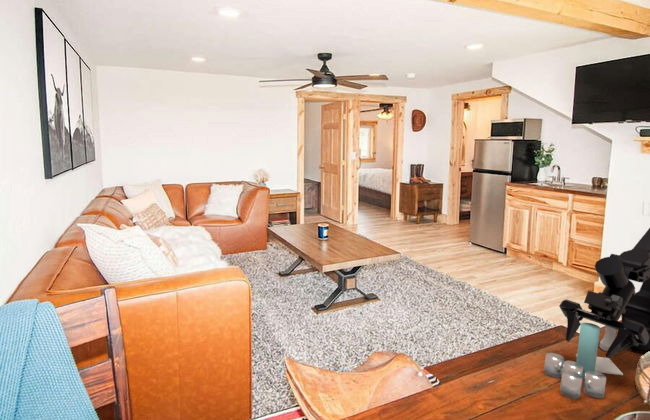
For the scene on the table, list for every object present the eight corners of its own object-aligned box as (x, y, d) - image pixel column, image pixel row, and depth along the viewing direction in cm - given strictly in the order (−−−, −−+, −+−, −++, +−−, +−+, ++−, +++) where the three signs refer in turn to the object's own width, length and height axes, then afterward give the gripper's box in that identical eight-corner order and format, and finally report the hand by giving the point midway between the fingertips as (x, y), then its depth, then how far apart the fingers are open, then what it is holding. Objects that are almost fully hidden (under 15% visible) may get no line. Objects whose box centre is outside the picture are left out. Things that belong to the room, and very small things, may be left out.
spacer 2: (577, 378, 99) (579, 361, 99) (583, 388, 96) (585, 370, 95) (559, 376, 100) (561, 359, 100) (564, 385, 96) (566, 368, 96)
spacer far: (576, 389, 95) (578, 372, 94) (583, 400, 91) (585, 381, 90) (557, 387, 96) (559, 369, 95) (563, 397, 92) (565, 378, 91)
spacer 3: (599, 389, 95) (601, 371, 94) (607, 399, 91) (609, 381, 91) (580, 386, 96) (582, 369, 95) (587, 396, 92) (589, 378, 92)
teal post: (590, 372, 102) (596, 323, 100) (596, 380, 99) (603, 330, 97) (572, 370, 103) (578, 321, 101) (578, 378, 100) (584, 328, 98)
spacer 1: (559, 370, 103) (561, 353, 102) (564, 378, 99) (566, 361, 99) (541, 368, 104) (543, 351, 103) (546, 376, 100) (548, 359, 100)
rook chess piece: (612, 346, 117) (615, 319, 115) (621, 353, 112) (625, 326, 111) (595, 345, 117) (599, 318, 116) (604, 352, 113) (608, 325, 111)
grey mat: (608, 359, 109) (608, 358, 109) (622, 375, 101) (623, 373, 101) (575, 355, 111) (575, 354, 111) (587, 370, 103) (587, 369, 103)
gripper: (567, 269, 108) (538, 317, 104) (651, 291, 92) (620, 348, 88) (579, 293, 113) (552, 339, 109) (661, 318, 97) (633, 372, 93)
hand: (586, 348), depth 100 cm, fingers open, 9 cm apart
